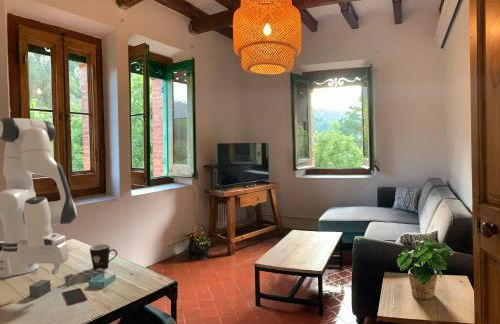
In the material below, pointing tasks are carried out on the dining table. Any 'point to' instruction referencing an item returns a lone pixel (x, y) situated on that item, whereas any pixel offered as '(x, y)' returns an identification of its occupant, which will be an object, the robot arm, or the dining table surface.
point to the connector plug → (40, 288)
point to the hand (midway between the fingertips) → (44, 273)
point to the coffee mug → (101, 256)
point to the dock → (101, 281)
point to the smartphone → (74, 296)
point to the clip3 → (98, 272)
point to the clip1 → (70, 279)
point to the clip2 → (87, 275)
